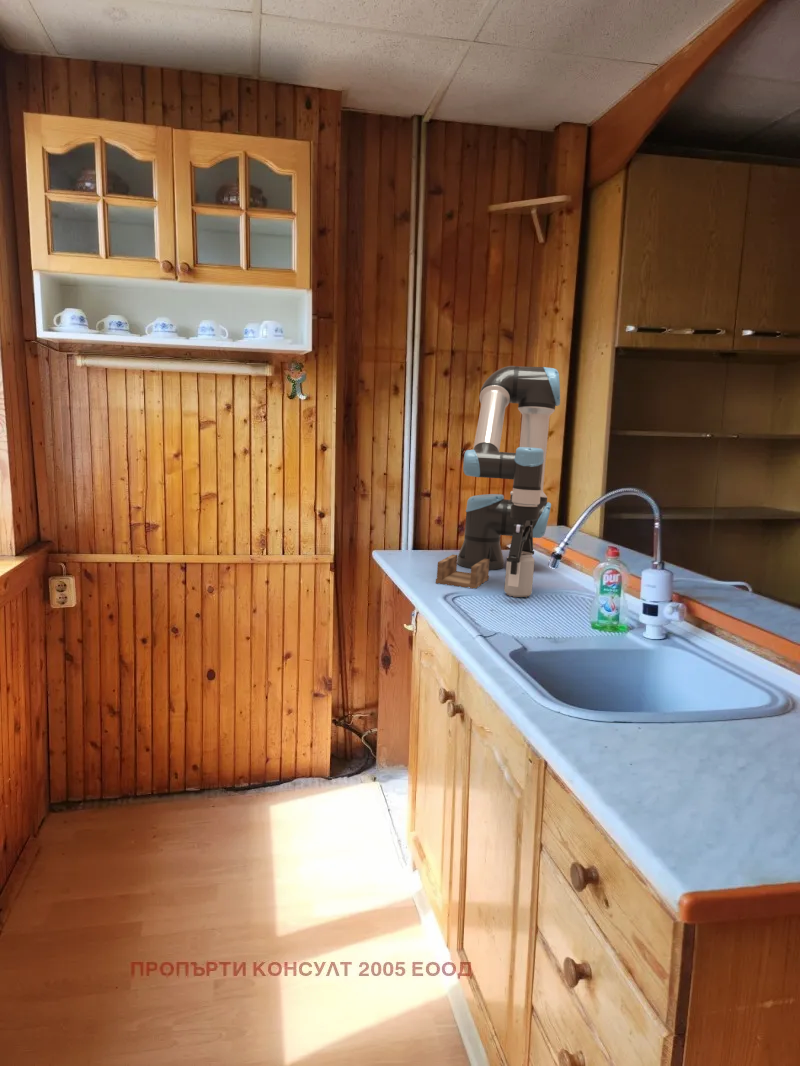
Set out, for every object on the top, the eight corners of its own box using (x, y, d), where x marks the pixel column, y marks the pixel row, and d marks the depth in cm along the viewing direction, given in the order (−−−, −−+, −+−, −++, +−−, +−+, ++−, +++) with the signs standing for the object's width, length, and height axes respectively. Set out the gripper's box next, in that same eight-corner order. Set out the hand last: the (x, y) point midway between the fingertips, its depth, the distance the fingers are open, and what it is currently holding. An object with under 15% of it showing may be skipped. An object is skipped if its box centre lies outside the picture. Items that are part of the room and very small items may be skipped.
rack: (450, 574, 221) (452, 554, 220) (488, 579, 217) (490, 559, 216) (435, 583, 208) (437, 562, 207) (475, 588, 204) (477, 567, 203)
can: (530, 592, 203) (533, 551, 201) (532, 599, 195) (536, 556, 193) (503, 590, 203) (506, 549, 201) (504, 597, 196) (508, 554, 194)
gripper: (521, 500, 208) (515, 572, 211) (500, 507, 185) (494, 588, 188) (547, 502, 205) (541, 575, 209) (529, 510, 182) (522, 592, 186)
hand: (518, 581), depth 198 cm, fingers open, 13 cm apart
